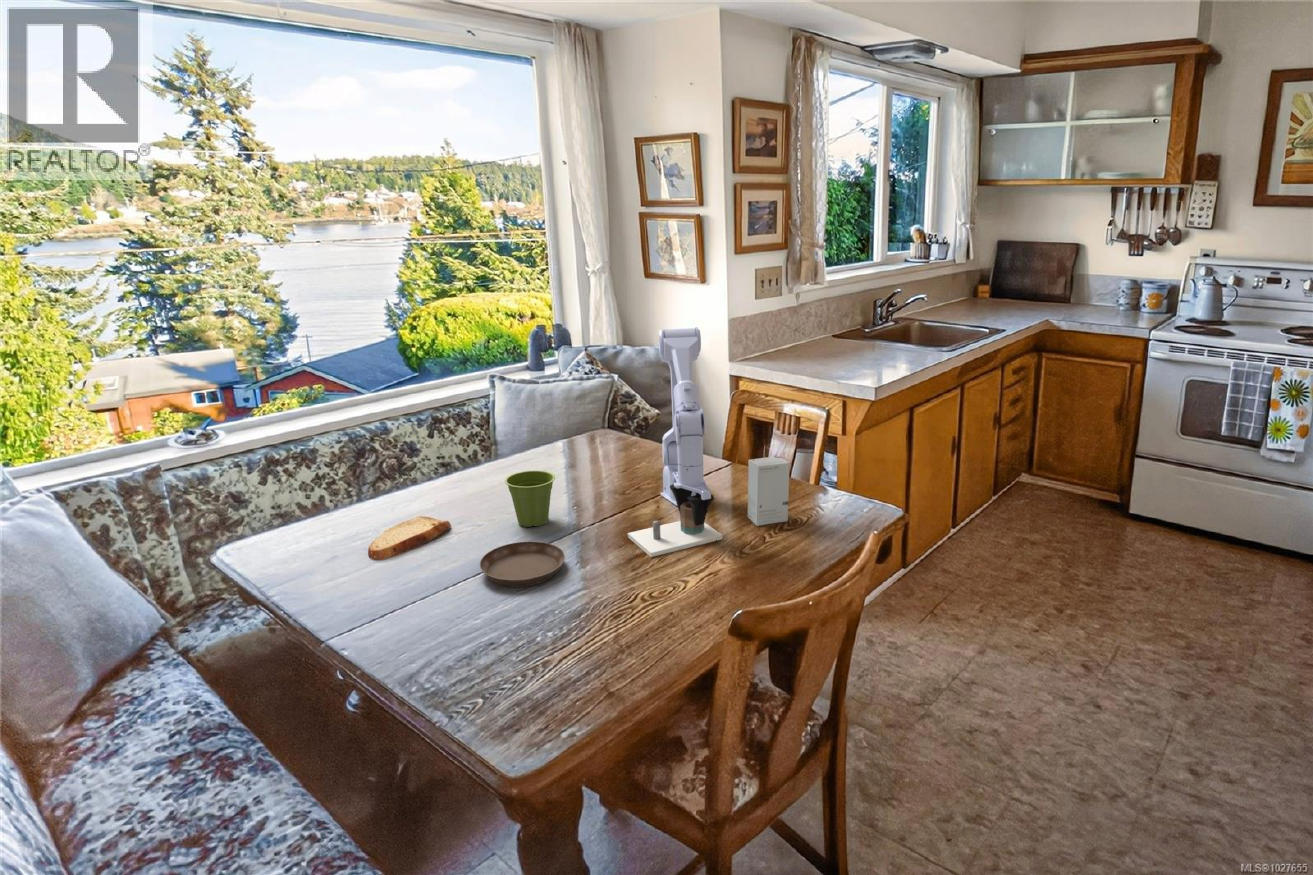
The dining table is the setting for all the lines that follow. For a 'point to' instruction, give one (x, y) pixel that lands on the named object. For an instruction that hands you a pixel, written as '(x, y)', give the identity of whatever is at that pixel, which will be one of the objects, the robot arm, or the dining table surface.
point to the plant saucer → (522, 563)
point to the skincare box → (768, 490)
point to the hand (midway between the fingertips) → (691, 519)
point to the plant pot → (531, 496)
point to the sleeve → (688, 520)
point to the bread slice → (406, 537)
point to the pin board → (670, 538)
